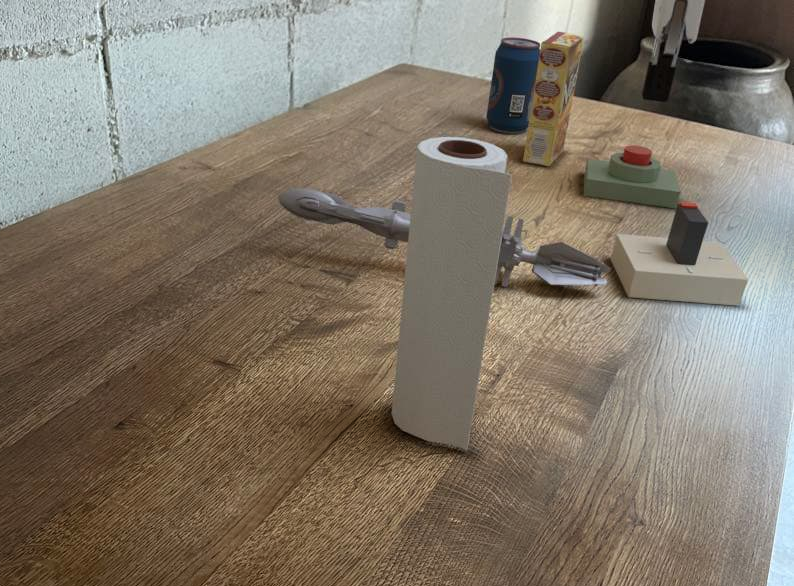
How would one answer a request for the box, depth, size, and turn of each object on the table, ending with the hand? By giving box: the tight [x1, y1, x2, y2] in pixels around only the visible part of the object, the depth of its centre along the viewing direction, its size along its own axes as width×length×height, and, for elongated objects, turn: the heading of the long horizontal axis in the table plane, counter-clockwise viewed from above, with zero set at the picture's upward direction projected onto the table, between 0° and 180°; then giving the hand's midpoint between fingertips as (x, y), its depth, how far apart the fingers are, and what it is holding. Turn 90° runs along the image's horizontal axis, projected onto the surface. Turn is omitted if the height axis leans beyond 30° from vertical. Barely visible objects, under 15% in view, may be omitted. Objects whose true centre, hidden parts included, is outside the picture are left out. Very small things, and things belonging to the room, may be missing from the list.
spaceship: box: [278, 187, 612, 288], centre depth 95 cm, size 8×35×8 cm
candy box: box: [522, 31, 585, 167], centre depth 127 cm, size 9×4×15 cm, turn 159°
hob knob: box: [666, 201, 709, 265], centre depth 97 cm, size 5×2×5 cm, turn 0°
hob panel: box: [610, 233, 749, 307], centre depth 100 cm, size 12×10×3 cm
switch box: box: [583, 152, 681, 210], centre depth 122 cm, size 12×9×4 cm
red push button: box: [622, 145, 653, 166], centre depth 121 cm, size 4×4×2 cm
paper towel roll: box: [391, 136, 513, 452], centre depth 67 cm, size 7×6×21 cm
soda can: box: [486, 37, 541, 135], centre depth 138 cm, size 7×7×12 cm
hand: (654, 98), depth 116 cm, fingers closed
